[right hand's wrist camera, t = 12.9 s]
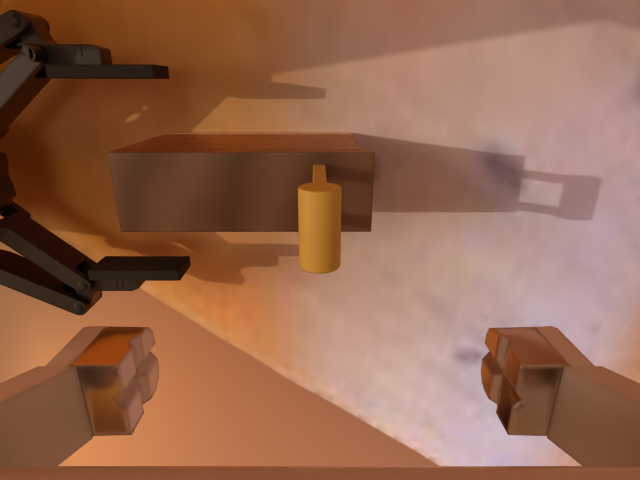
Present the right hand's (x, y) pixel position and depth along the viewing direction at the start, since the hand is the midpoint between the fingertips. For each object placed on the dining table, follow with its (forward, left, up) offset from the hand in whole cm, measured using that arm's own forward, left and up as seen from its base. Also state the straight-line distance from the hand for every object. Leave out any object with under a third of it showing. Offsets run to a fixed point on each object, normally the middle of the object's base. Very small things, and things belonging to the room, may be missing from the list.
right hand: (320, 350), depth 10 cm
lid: (+2, +4, -17) cm, 17 cm away
